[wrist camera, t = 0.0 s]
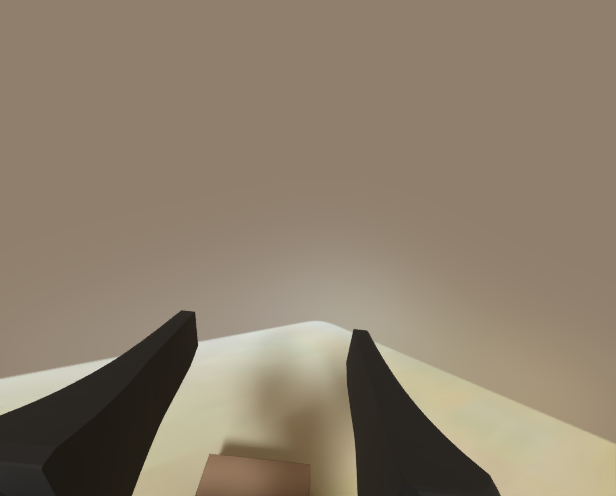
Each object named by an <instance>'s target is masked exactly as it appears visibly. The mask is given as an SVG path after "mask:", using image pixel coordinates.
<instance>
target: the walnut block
mask: <svg viewBox="0 0 616 496" xmlns="http://www.w3.org/2000/svg"><path fill="white" fill-rule="evenodd" d="M309 490H310V465H309V464H300V463H291V462H281V461H272V460H263V459H253V458H244V457H235V456H225V455H216V454H209V457H208V460H207V463H206V465H205V468H204V471H203V474H202V477H201V480H200V483H199V486H198V489H197V492H196V495H195V496H309Z"/></svg>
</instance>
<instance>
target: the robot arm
mask: <svg viewBox="0 0 616 496" xmlns="http://www.w3.org/2000/svg"><path fill="white" fill-rule="evenodd" d="M197 347H198V340H197V329H196V318H195V312H191V311H180V312H179V313H178V314H176V315H175V316H174V317H172V318H171V319H170V320H169V321H167V322H166V323H165V324H164V325H162V326H161V327H160V328H159V329H157V330H156V331H155V332H153V333H152V334H151V335H149V336H148V337H147V338H145V339H144V340H143V341H141V342H140V343H139V344H137V345H136V346H134V347H133V348H131V349H130V350H129V351H127V352H126V353H124V354H123V355H121V356H120V357H118V358H117V359H115V360H114V361H112V362H110V363H109V364H107V365H105V366H104V367H102V368H100V369H99V370H97V371H95V372H93V373H92V374H90V375H88V376H86V377H84V378H82V379H80V380H78V381H76V382H75V383H73V384H71V385H69V386H67V387H65V388H63V389H61V390H59V391H57V392H55V393H52V394H50V395H48V396H46V397H44V398H41V399H39V400H37V401H35V402H32V403H30V404H28V405H25V406H23V407H21V408H18V409H15V410H13V411H10V412H8V413H5V414H3V415H0V496H132V494H133V491H134V488H135V486H136V483H137V480H138V478H139V475H140V472H141V470H142V467H143V465H144V462H145V460H146V457H147V455H148V452H149V450H150V447H151V445H152V442H153V440H154V438H155V435H156V433H157V430H158V428H159V426H160V424H161V422H162V419H163V417H164V415H165V413H166V411H167V410H168V408H169V406H170V404H171V402H172V400H173V398H174V396H175V395H176V393H177V391H178V389H179V387H180V385H181V383H182V381H183V379H184V378H185V376H186V374H187V372H188V370H189V368H190V366H191V363H192V361H193V358H194V355H195V353H196V350H197ZM346 366H347V387H348V395H349V402H350V409H351V416H352V423H353V430H354V438H355V448H356V467H357V491H358V496H501V495H500V493H499V491H498V489H497V487H496V486H495V484H494V482H493V480H492V478H491V476H490V475H489V474H488V473H487V472H485V471H484V470H483V469H482V468H481V467H479V466H478V465H477V464H476V463H475V462H473V461H472V460H471V459H470V458H469V457H467V456H466V455H465V454H464V453H463V452H462V451H461V450H459V449H458V448H457V447H456V446H455V445H454V444H453V443H452V442H451V441H450V440H449V439H448V438H447V437H446V436H445V435H444V434H442V432H441V431H440V430H439V429H438V428H437V427H436V426H435V425H434V424H433V423H432V422H431V421H430V420H429V419H428V418H427V417H426V416H425V415H424V413H423V412H422V411H421V410H420V409H419V408H418V407H417V405H416V404H415V403H414V402H413V400H412V399H411V398H410V397H409V395H408V394H407V393H406V392H405V390H404V389H403V388H402V386H401V385H400V383H399V382H398V381H397V379H396V378H395V376H394V375H393V373H392V372H391V370H390V369H389V367H388V365H387V364H386V362H385V361H384V359H383V357H382V356H381V354H380V352H379V351H378V349H377V347H376V345H375V344H374V342H373V340H372V338H371V336H370V334H369V333H368V331H366V330H357V329H354V330H353V334H352V339H351V343H350V348H349V352H348V357H347V361H346Z"/></svg>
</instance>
